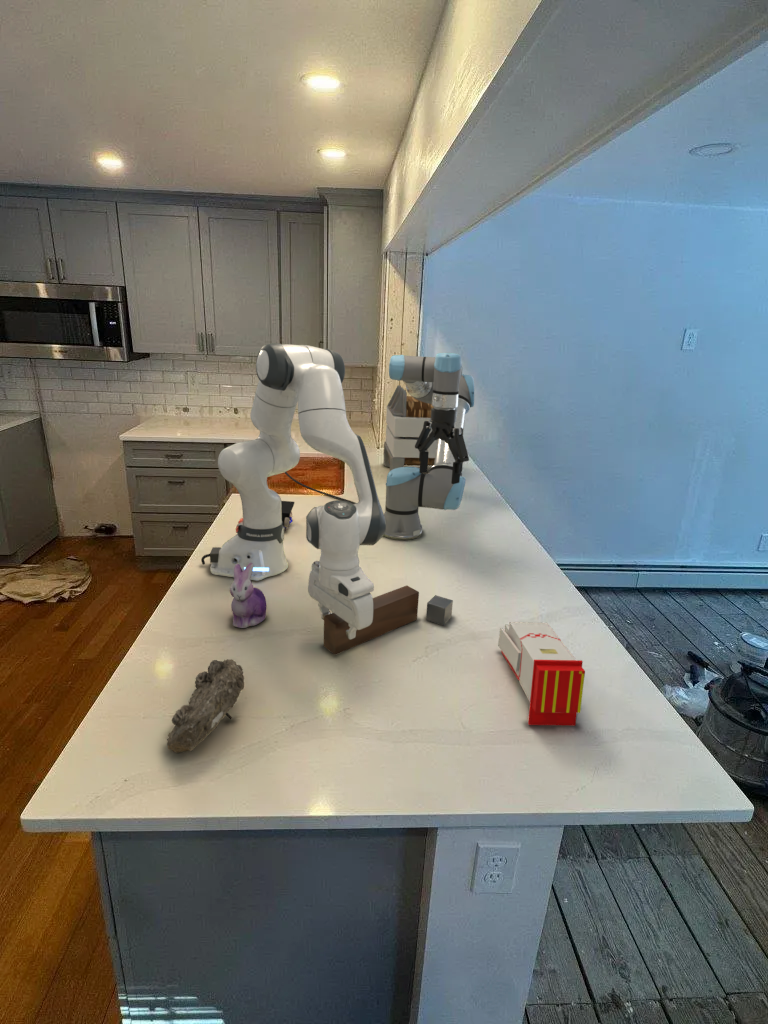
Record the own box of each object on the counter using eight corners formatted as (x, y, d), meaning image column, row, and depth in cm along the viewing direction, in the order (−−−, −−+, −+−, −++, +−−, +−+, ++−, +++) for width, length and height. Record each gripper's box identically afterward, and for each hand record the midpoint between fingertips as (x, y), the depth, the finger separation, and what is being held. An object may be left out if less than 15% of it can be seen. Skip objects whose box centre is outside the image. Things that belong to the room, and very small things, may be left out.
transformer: (382, 463, 289) (386, 382, 275) (445, 464, 293) (451, 384, 279) (390, 482, 257) (394, 392, 243) (460, 483, 261) (468, 394, 247)
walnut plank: (323, 646, 132) (323, 616, 129) (405, 612, 148) (406, 585, 146) (335, 655, 129) (335, 624, 126) (417, 619, 145) (419, 591, 142)
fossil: (192, 660, 117) (244, 628, 112) (224, 691, 120) (276, 661, 115) (142, 746, 98) (202, 712, 93) (182, 779, 101) (242, 748, 96)
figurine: (235, 633, 135) (232, 576, 130) (225, 613, 144) (222, 559, 139) (273, 625, 139) (272, 570, 134) (262, 606, 148) (260, 553, 143)
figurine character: (290, 537, 196) (295, 517, 209) (289, 518, 192) (295, 499, 206) (270, 536, 195) (277, 517, 209) (269, 517, 192) (276, 498, 206)
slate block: (425, 620, 145) (427, 602, 144) (433, 611, 149) (435, 594, 148) (443, 625, 143) (445, 608, 141) (451, 617, 147) (453, 600, 145)
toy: (544, 607, 134) (594, 667, 105) (539, 659, 137) (586, 732, 108) (493, 606, 134) (529, 666, 105) (489, 658, 137) (523, 731, 107)
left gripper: (301, 561, 131) (301, 613, 136) (355, 595, 116) (354, 653, 121) (323, 554, 135) (323, 606, 140) (379, 587, 120) (376, 643, 125)
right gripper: (406, 402, 172) (402, 469, 180) (468, 416, 155) (461, 490, 162) (423, 400, 177) (419, 466, 184) (485, 413, 159) (478, 485, 167)
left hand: (338, 628), depth 130 cm, fingers open, 8 cm apart
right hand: (438, 477), depth 173 cm, fingers open, 13 cm apart
